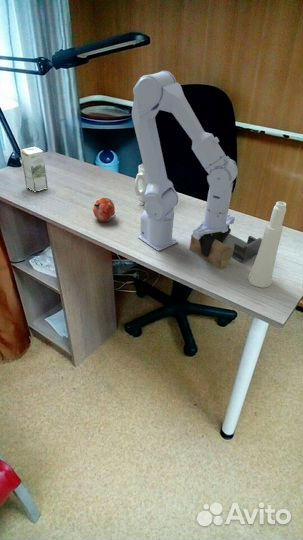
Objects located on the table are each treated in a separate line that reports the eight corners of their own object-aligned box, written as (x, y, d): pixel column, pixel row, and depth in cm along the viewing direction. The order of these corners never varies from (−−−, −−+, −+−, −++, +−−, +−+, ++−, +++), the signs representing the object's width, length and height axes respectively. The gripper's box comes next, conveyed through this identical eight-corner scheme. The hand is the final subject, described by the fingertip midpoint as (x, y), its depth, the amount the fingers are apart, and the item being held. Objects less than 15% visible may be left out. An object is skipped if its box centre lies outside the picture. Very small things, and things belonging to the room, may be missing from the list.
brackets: (200, 239, 107) (202, 224, 104) (218, 230, 111) (221, 216, 108) (241, 263, 98) (245, 248, 95) (259, 253, 102) (263, 238, 99)
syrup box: (40, 184, 135) (33, 145, 126) (48, 189, 131) (43, 150, 123) (26, 188, 131) (19, 149, 122) (35, 193, 128) (28, 153, 119)
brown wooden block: (189, 249, 102) (191, 234, 99) (198, 245, 104) (200, 230, 101) (221, 269, 95) (224, 253, 92) (229, 264, 97) (233, 249, 94)
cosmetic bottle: (275, 279, 92) (299, 202, 79) (265, 291, 88) (289, 212, 75) (253, 270, 95) (273, 195, 82) (243, 281, 91) (263, 203, 78)
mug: (146, 193, 132) (147, 161, 124) (160, 199, 128) (162, 166, 121) (127, 201, 125) (127, 169, 118) (142, 208, 122) (142, 174, 115)
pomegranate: (105, 218, 120) (82, 207, 113) (117, 201, 118) (95, 188, 111) (114, 230, 115) (90, 219, 108) (127, 212, 113) (104, 200, 106)
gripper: (210, 222, 84) (202, 268, 93) (247, 206, 92) (237, 250, 100) (189, 211, 89) (183, 256, 97) (226, 197, 96) (218, 239, 105)
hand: (210, 252), depth 99 cm, fingers open, 4 cm apart
